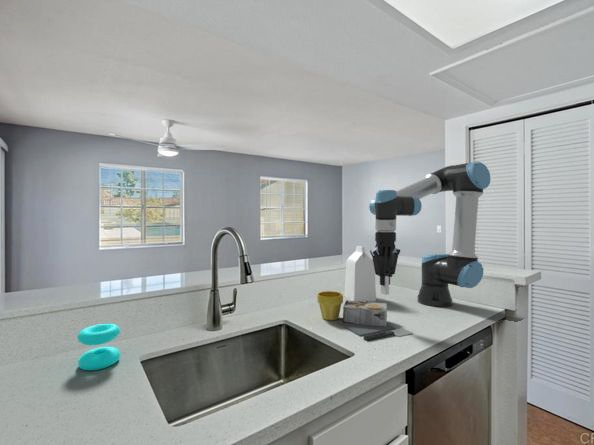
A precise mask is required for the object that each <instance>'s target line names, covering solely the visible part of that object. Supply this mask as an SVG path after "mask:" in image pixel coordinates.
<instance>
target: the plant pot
mask: <svg viewBox="0 0 594 445" xmlns="http://www.w3.org/2000/svg"><path fill="white" fill-rule="evenodd" d="M316 296H317V303H318V304H319V310H320V313H321V318H322V319H323V320H325V321H336V320H338V319H339V318H340V312H341V306H342V304H343V302H344V294H343V293H342V292H340V291H333V290H326V291H325V290H324V291H320V292H318V293H317V294H316Z"/></svg>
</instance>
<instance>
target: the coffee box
mask: <svg viewBox="0 0 594 445" xmlns="http://www.w3.org/2000/svg"><path fill="white" fill-rule="evenodd" d="M342 310H343V311H342V321H343V323H354V324H364V325H374V326H384V327H386V325H387V324H388V323H387V317H388V311H387V310H388V304H387V303H386V302H384V303H383V302H382V303H381V302H375V301H368V302H361V301H351V300H349V299H348V300H347V299H346V300H345V303H344V304H343V308H342Z"/></svg>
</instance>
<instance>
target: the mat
mask: <svg viewBox="0 0 594 445" xmlns="http://www.w3.org/2000/svg"><path fill="white" fill-rule="evenodd" d="M336 323H337V324H338V325H339V326H340V327H342V328H344V329H347V330H348V331H350V332H351V333H353V334H355V335H357V336H359V337H362V336H368V335H373V334H378V333H383V332H388V331H391V330H396V327H394V325H391V324H388V323H387V325H386V327H384V326H374V325H364V324H354V323H343V320H342V321H338V322H336Z"/></svg>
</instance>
